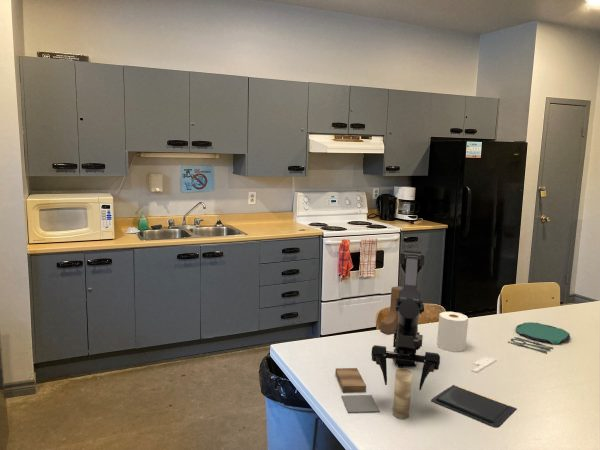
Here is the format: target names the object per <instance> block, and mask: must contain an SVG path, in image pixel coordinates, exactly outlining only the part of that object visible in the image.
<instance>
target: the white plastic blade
mask: <svg viewBox="0 0 600 450" xmlns="http://www.w3.org/2000/svg"><path fill="white" fill-rule="evenodd" d="M496 362H497V359H496V358H494V357H491V356H483V357H481V358H479V359H478V360H476V361H474V362H473V363H471V365H475V368H473V369H471V372H473V373H474V374H478V372H481V371H483V369H485V368H487V367H489V366H490V365H492V364H494V363H496Z"/></svg>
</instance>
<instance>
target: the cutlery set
mask: <svg viewBox="0 0 600 450" xmlns="http://www.w3.org/2000/svg"><path fill="white" fill-rule="evenodd" d="M515 332H516V333H517V334H519V335H520V336H521V335H522V336H525V337H526V338H529V339H532V340H534V341H532V340H528V339H525V338H521V337H516V336H514V337H513V338H510V340H511V341H507V343H508V344H511V345H514V346H516V347H521V348H523V347H524V348H527V349H529V350H533V351H535V352H540V353H543V354H548V351H551V350H554V347H553V346H548V345H546V344H542V343H540V342H537V341H541V342H549V343H551V344H552V345H554V346H555V345H556V346H557V345H559V344H560V343H561V342H566V341H569V340H570V337H571V334H570V332H569V331H567V330H565V329H563V328H559V327H556V326H553V325H548V324H543V323H540V322H528V321H527V322H523V323H521V324H518V325H517V326H516V327H515ZM535 340H536V341H535ZM530 346H533V347H530ZM535 347H537V348H535Z"/></svg>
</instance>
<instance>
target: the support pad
mask: <svg viewBox="0 0 600 450" xmlns="http://www.w3.org/2000/svg"><path fill="white" fill-rule="evenodd" d="M341 399H342V402H343V404H344V407H345V409H346V411H347V414H365V413H367V414H368V413H380V412H381V410H380V407H379V406H378V404H377V403H376V401H375V399H374V397H373V395H372V394H357V395H356V394H355V395H341Z"/></svg>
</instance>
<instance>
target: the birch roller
mask: <svg viewBox="0 0 600 450" xmlns="http://www.w3.org/2000/svg"><path fill="white" fill-rule="evenodd" d="M412 380H413V372H412V370H410V369H408V368H405V367H398V368H396V370H395V377H394V393H393V405H392V406H393V407H392V415H393V416H394V417H395V418H396V419H399V420H406V419H409V418H410V409H411V394H412Z"/></svg>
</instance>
